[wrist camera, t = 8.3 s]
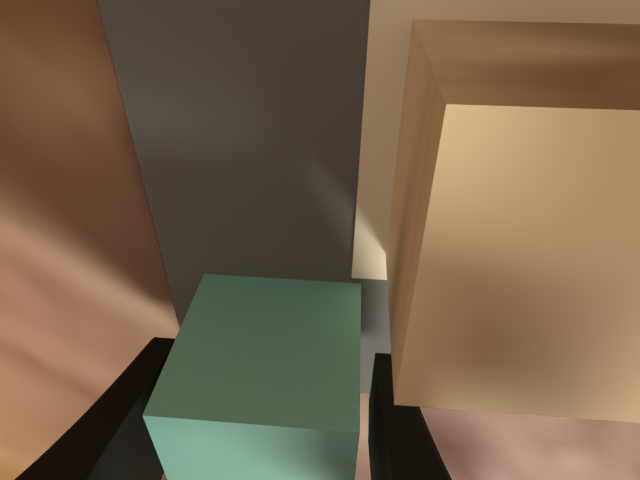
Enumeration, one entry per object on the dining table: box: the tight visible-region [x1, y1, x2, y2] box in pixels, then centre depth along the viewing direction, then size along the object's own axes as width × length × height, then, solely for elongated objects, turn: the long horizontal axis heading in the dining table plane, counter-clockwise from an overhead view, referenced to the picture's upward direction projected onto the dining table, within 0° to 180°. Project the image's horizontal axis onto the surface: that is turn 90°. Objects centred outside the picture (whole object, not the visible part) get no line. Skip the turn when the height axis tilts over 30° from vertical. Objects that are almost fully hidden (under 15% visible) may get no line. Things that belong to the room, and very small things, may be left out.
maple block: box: [385, 19, 640, 423], centre depth 7 cm, size 5×5×4 cm
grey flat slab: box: [97, 0, 640, 393], centre depth 9 cm, size 18×18×1 cm
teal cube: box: [142, 274, 361, 480], centre depth 11 cm, size 4×4×4 cm
